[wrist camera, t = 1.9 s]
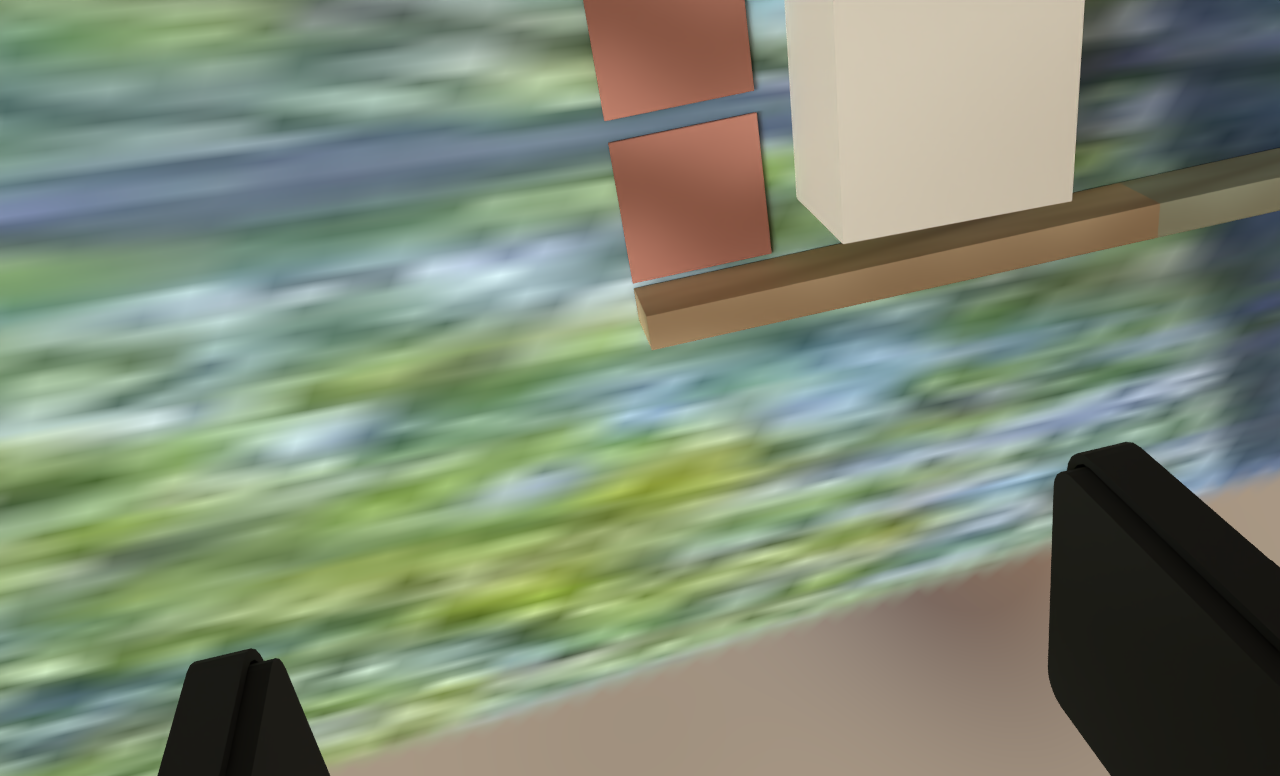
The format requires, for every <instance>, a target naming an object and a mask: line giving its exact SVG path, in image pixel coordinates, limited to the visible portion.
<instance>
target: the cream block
mask: <svg viewBox="0 0 1280 776" xmlns="http://www.w3.org/2000/svg"><path fill="white" fill-rule="evenodd" d="M1084 4H1085V0H785V16H786V32H787V48H788V64H789V81H790V97H791V113H792V129H793V145H794V162H795V178H796V194H797V199H798V200H799V201H800V202H801V203H802V204H803V205H804V206H805V207H806V208H807V209H808V210H809V211H810V212H811V213H812V214H813V215H814V216H815V217H816V218H817V219H818V220H819V221H820V222H821V223H822V224H823V225H824V226H825V227H826V228H827V229H828V230H829V231H830V232H831V233H832V234H833V235H834V236H835V237H836V238H837V239H838V240H839V241H840V242H841V243H842V244H847V243H852V242H858V241H863V240H868V239H874V238H879V237H884V236H889V235H895V234H900V233H905V232H911V231H916V230H921V229H927V228H932V227H937V226H943V225H948V224H953V223H958V222H964V221H969V220H974V219H980V218H985V217H990V216H996V215H1001V214H1006V213H1011V212H1017V211H1022V210H1027V209H1033V208H1038V207H1043V206H1049V205H1054V204H1059V203H1065V202H1070V201H1072V193H1073V178H1074V162H1075V146H1076V130H1077V114H1078V98H1079V83H1080V67H1081V51H1082V35H1083V19H1084Z"/></svg>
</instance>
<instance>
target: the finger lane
mask: <svg viewBox="0 0 1280 776" xmlns="http://www.w3.org/2000/svg"><path fill="white" fill-rule="evenodd" d="M583 2H584V8H585V13H586V19H587V25H588V31H589V36H590V42H591V48H592V53H593V59H594V65H595V70H596V76H597V82H598V88H599V93H600V99H601V105H602V110H603V116H604V121H608V120H613V119H618V118H622V117H627V116H632V115H637V114H642V113H647V112H652V111H657V110H661V109H666V108H671V107H676V106H681V105H686V104H691V103H696V102H700V101H705V100H710V99H715V98H720V97H725V96H730V95H735V94H739V93H744V92H749V91H754V84H753V75H752V66H751V56H750V47H749V38H748V28H747V19H746V10H745V0H583ZM608 145H609V150H610V156H611V162H612V167H613V173H614V179H615V185H616V190H617V196H618V202H619V207H620V213H621V219H622V224H623V230H624V236H625V242H626V247H627V253H628V259H629V264H630V270H631V276H632V281H633V283H637V282H642V281H647V280H651V279H656V278H660V277H665V276H670V275H674V274H679V273H683V272H688V271H693V270H697V269H702V268H706V267H711V266H716V265H720V264H725V263H729V262H734V261H739V260H743V259H748V258H752V257H757V256H762V255H766V254H771V253H772V252H771V243H770V234H769V224H768V215H767V206H766V196H765V187H764V178H763V168H762V159H761V150H760V140H759V131H758V122H757V113H756V112H754V113H750V114H745V115H740V116H735V117H730V118H725V119H721V120H716V121H711V122H706V123H701V124H696V125H692V126H687V127H682V128H677V129H672V130H667V131H663V132H658V133H653V134H648V135H643V136H638V137H634V138H629V139H624V140H619V141H614V142H609V143H608ZM1279 210H1280V148H1277V149H1272V150H1268V151H1263V152H1258V153H1254V154H1249V155H1245V156H1240V157H1236V158H1231V159H1226V160H1222V161H1217V162H1213V163H1208V164H1203V165H1199V166H1194V167H1190V168H1185V169H1180V170H1176V171H1171V172H1167V173H1162V174H1158V175H1153V176H1148V177H1144V178H1139V179H1135V180H1130V181H1125V182H1121V183H1116V184H1112V185H1107V186H1102V187H1098V188H1093V189H1089V190H1084V191H1079V192H1075V193H1072V201H1070V202H1065V203H1059V204H1054V205H1049V206H1043V207H1038V208H1033V209H1027V210H1022V211H1017V212H1011V213H1006V214H1001V215H996V216H990V217H985V218H980V219H974V220H969V221H964V222H958V223H953V224H948V225H943V226H937V227H932V228H927V229H921V230H916V231H911V232H905V233H900V234H895V235H889V236H884V237H879V238H874V239H868V240H863V241H858V242H852V243H847V244H842V243H841V244H836V245H832V246H827V247H822V248H818V249H813V250H809V251H804V252H800V253H795V254H790V255H786V256H781V257H777V258H772V259H767V260H763V261H758V262H754V263H749V264H744V265H740V266H735V267H731V268H726V269H722V270H717V271H712V272H708V273H703V274H699V275H694V276H689V277H685V278H680V279H676V280H671V281H666V282H662V283H657V284H653V285H648V286H643V287H639V288H634V293H635V299H636V304H637V310H638V316H639V321H640V323H641V326H642V328H643V330H644V332H645V335H646V337H647V339H648V342H649V344H650V346H651V349H652V350H655V349H659V348H664V347H668V346H673V345H677V344H682V343H686V342H691V341H695V340H700V339H704V338H709V337H713V336H718V335H722V334H727V333H731V332H736V331H740V330H745V329H749V328H754V327H758V326H763V325H767V324H772V323H776V322H781V321H785V320H790V319H794V318H799V317H803V316H808V315H812V314H817V313H821V312H826V311H830V310H835V309H839V308H844V307H848V306H853V305H857V304H861V303H866V302H870V301H875V300H879V299H884V298H888V297H893V296H897V295H902V294H906V293H911V292H915V291H920V290H924V289H929V288H933V287H938V286H942V285H947V284H951V283H956V282H960V281H965V280H969V279H974V278H978V277H983V276H987V275H992V274H996V273H1001V272H1005V271H1010V270H1014V269H1019V268H1023V267H1028V266H1032V265H1037V264H1041V263H1046V262H1050V261H1055V260H1059V259H1064V258H1068V257H1072V256H1077V255H1081V254H1086V253H1090V252H1095V251H1099V250H1104V249H1108V248H1113V247H1117V246H1122V245H1126V244H1131V243H1135V242H1140V241H1144V240H1149V239H1153V238H1158V237H1162V236H1167V235H1171V234H1176V233H1180V232H1185V231H1189V230H1194V229H1198V228H1203V227H1207V226H1212V225H1216V224H1221V223H1225V222H1230V221H1234V220H1239V219H1243V218H1248V217H1252V216H1257V215H1261V214H1266V213H1270V212H1275V211H1279Z"/></svg>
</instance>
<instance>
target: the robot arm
mask: <svg viewBox="0 0 1280 776" xmlns="http://www.w3.org/2000/svg"><path fill="white" fill-rule="evenodd" d="M1048 675H1049V680H1050V684H1051V687H1052V689H1053V692H1054V695H1055V697H1056V699H1057V701H1058V702H1059V704H1060V706H1061V707H1062V709H1063V710H1064V711H1065V713H1066V714H1067V716H1068V717H1069V718H1070V720H1071V721H1072V723H1073V724H1074V725H1075V727H1076V728H1077V729H1078V731H1079V732H1080V734H1081V735H1082V736H1083V738H1084V739H1085V740H1086V742H1087V743H1088V745H1089V746H1090V747H1091V749H1092V750H1093V752H1094V753H1095V754H1096V756H1097V757H1098V759H1099V760H1100V761H1101V763H1102V764H1103V765H1104V767H1105V768H1106V770H1107V771H1108V772H1109V773H1110V775H1111V776H1280V567H1279V566H1278V565H1276V564H1275V563H1274V562H1273V561H1272V560H1270V559H1269V558H1267V557H1266V556H1265V555H1264V554H1263V553H1262V552H1261V551H1259V550H1258V549H1257V548H1256V547H1255V546H1254V545H1253V544H1251V543H1250V542H1249V541H1248V540H1247V539H1245V538H1244V537H1243V536H1242V535H1241V534H1240V533H1239V532H1238V531H1236V530H1235V529H1234V528H1233V527H1232V526H1231V525H1229V524H1228V523H1227V522H1226V521H1225V520H1224V519H1223V518H1221V517H1220V516H1219V515H1218V514H1217V513H1216V512H1214V511H1213V510H1212V509H1211V508H1210V507H1209V506H1208V505H1206V504H1205V503H1204V502H1203V501H1202V500H1201V499H1199V498H1198V497H1197V496H1196V495H1195V494H1194V493H1193V492H1191V491H1190V490H1189V489H1188V488H1187V487H1186V486H1184V485H1183V484H1182V483H1181V482H1180V481H1179V480H1178V479H1176V478H1175V477H1174V476H1173V475H1172V474H1171V473H1169V472H1168V471H1167V470H1166V469H1165V468H1164V467H1163V466H1161V465H1160V464H1159V463H1158V462H1157V461H1156V460H1154V459H1153V458H1152V457H1151V456H1150V455H1149V454H1148V453H1146V452H1145V451H1144V450H1143V449H1142V448H1141V447H1139V446H1137V445H1136V444H1134V443H1131V442H1124V443H1120V444H1115V445H1111V446H1107V447H1103V448H1098V449H1094V450H1090V451H1086V452H1081V453H1077V454H1075V455H1074V456H1072V457H1071V459H1070V461H1069V463H1068V467H1067V471H1064V472H1060V473H1059V474H1057V476H1056V478H1055V481H1054V495H1053V526H1052V557H1051V589H1050V620H1049V650H1048ZM158 776H330V774H329V772H328V769H327V767H326V764H325V762H324V760H323V757H322V755H321V752H320V750H319V748H318V745H317V743H316V740H315V738H314V736H313V733H312V731H311V728H310V726H309V724H308V721H307V719H306V716H305V714H304V712H303V709H302V707H301V704H300V702H299V700H298V697H297V695H296V692H295V690H294V687H293V685H292V683H291V680H290V678H289V675H288V673H287V671H286V668H285V666H284V665H283V663H282V662H281V660H280V659H277V658H275V659H271V660H267V661H263V659H262V657H261V655H260V654H259V653H258V652H257V650H256V649H247V650H242V651H238V652H234V653H230V654H225V655H221V656H217V657H213V658H208V659H204V660H200V661H196V662H194V663H192V664H191V665H190V667H189V669H188V671H187V673H186V677H185V680H184V684H183V688H182V691H181V695H180V698H179V702H178V705H177V709H176V712H175V716H174V719H173V723H172V726H171V730H170V734H169V737H168V741H167V744H166V748H165V751H164V755H163V758H162V762H161V765H160V769H159V773H158Z"/></svg>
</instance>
